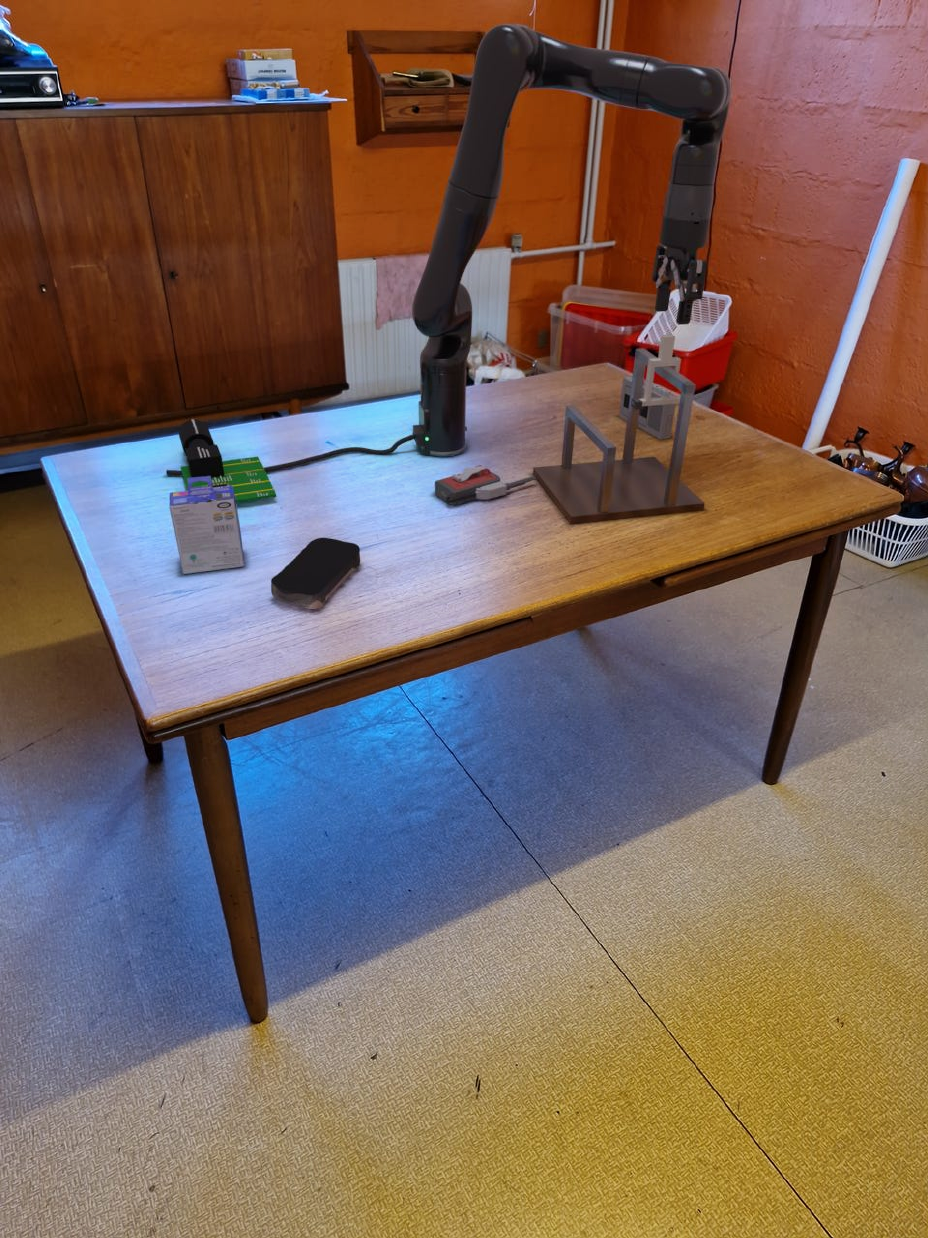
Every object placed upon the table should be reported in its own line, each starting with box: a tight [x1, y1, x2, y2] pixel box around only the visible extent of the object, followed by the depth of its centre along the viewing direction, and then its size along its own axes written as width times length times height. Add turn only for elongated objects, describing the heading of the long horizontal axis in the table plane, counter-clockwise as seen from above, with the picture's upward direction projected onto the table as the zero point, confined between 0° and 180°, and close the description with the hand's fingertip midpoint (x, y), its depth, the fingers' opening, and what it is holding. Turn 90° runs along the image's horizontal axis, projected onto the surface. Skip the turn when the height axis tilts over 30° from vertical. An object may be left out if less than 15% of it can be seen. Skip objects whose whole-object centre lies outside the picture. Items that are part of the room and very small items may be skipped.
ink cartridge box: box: [168, 476, 245, 575], centre depth 134 cm, size 10×6×14 cm, turn 107°
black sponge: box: [270, 537, 361, 610], centre depth 132 cm, size 16×8×4 cm, turn 160°
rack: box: [532, 348, 706, 525], centre depth 156 cm, size 26×22×24 cm
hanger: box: [631, 334, 682, 410], centre depth 152 cm, size 11×2×13 cm, turn 104°
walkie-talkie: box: [434, 464, 537, 506], centre depth 161 cm, size 9×4×20 cm
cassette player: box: [618, 375, 677, 441], centre depth 188 cm, size 16×3×10 cm, turn 27°
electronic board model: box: [178, 418, 277, 504], centre depth 164 cm, size 30×7×15 cm
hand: (671, 317), depth 146 cm, fingers open, 8 cm apart
